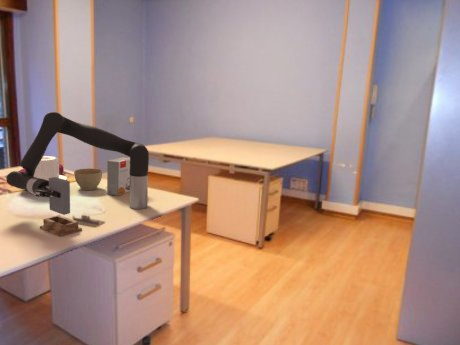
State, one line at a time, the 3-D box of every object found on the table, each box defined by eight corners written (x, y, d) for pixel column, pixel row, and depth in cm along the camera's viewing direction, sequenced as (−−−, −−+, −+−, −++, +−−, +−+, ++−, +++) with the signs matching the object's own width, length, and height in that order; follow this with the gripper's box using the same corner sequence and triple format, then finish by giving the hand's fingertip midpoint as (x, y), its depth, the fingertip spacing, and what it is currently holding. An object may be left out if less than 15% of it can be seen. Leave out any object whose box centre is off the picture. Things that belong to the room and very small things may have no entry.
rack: (39, 228, 167) (39, 219, 166) (60, 222, 175) (60, 214, 174) (61, 236, 159) (60, 227, 158) (82, 230, 167) (81, 221, 166)
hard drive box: (118, 196, 221) (117, 162, 217) (106, 194, 224) (106, 160, 220) (133, 190, 236) (133, 158, 232) (122, 188, 238) (122, 156, 234)
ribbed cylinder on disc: (59, 183, 243) (58, 153, 239) (73, 192, 224) (73, 160, 221) (14, 188, 226) (12, 156, 222) (26, 198, 208) (24, 163, 204)
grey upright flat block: (49, 209, 167) (48, 178, 164) (56, 208, 169) (55, 177, 166) (63, 214, 162) (63, 182, 159) (70, 213, 164) (69, 181, 161)
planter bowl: (85, 184, 244) (85, 167, 242) (108, 187, 240) (107, 170, 238) (68, 189, 229) (67, 171, 227) (92, 193, 225) (91, 175, 222)
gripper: (23, 181, 165) (47, 188, 156) (54, 176, 176) (78, 183, 167) (24, 198, 166) (48, 206, 157) (54, 192, 178) (78, 200, 169)
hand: (63, 194), depth 162 cm, fingers closed on grey upright flat block, 3 cm apart
